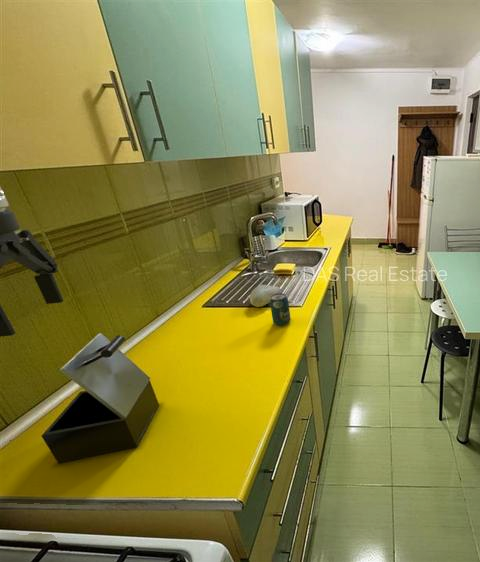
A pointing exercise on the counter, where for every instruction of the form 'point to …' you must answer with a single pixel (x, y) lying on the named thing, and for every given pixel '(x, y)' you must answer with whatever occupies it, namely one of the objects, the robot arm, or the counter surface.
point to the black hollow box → (98, 427)
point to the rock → (263, 295)
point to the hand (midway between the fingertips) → (32, 317)
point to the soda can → (280, 309)
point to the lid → (107, 374)
